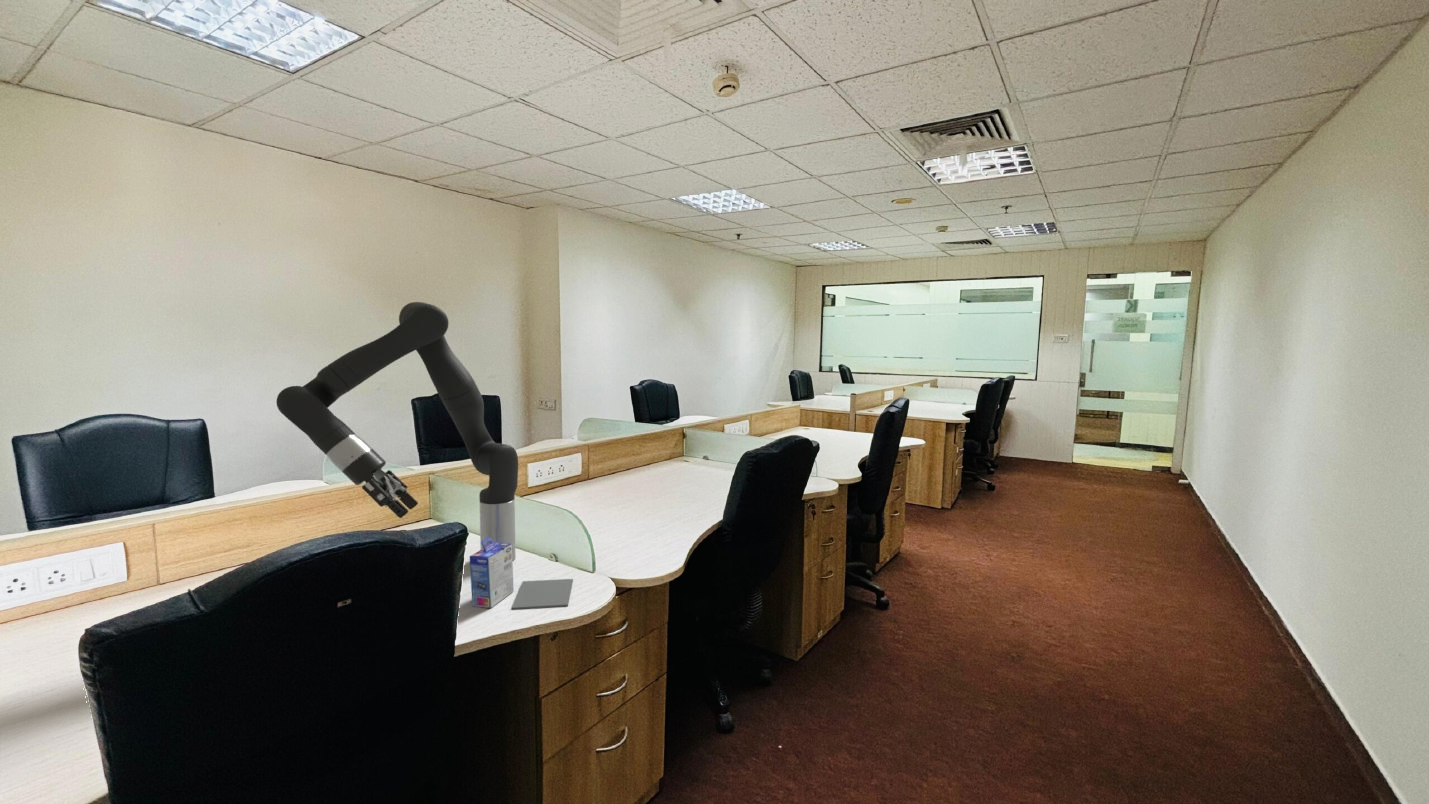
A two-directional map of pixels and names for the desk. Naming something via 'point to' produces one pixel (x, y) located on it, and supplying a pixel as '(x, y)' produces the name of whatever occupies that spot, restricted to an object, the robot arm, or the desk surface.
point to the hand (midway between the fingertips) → (410, 510)
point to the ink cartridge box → (491, 574)
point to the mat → (543, 594)
